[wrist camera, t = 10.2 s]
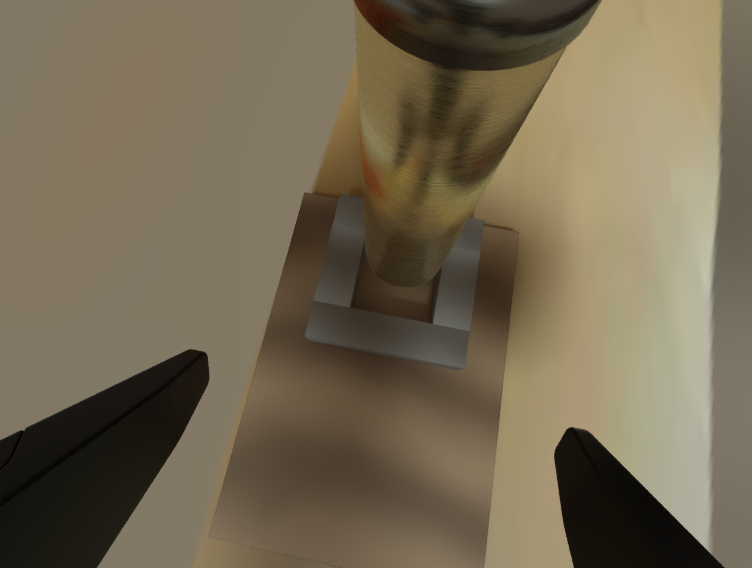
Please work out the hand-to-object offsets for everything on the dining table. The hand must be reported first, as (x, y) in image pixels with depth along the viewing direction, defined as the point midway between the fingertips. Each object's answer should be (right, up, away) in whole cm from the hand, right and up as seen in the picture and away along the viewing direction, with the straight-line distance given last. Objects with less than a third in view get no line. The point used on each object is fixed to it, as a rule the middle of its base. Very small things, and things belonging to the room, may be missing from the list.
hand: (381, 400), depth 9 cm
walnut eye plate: (0, -2, +13) cm, 13 cm away
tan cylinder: (+1, +4, +8) cm, 9 cm away
